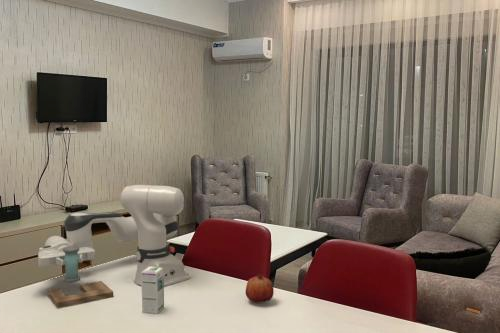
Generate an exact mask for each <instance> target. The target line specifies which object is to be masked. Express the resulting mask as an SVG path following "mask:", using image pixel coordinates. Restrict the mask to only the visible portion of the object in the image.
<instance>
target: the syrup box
mask: <svg viewBox="0 0 500 333" xmlns="http://www.w3.org/2000/svg"><path fill="white" fill-rule="evenodd" d="M141 278H142V285H141V310H142V311H141V312H142V313H144V314H154V315H158V314H159V313H160V312H161V311H162V310H163V309H164V307H165V293H164V292H165V290H164V288H165V286H164V280H163V268H162V267H148V268H147V269H145V270H144V271H142V272H141Z"/></svg>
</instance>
